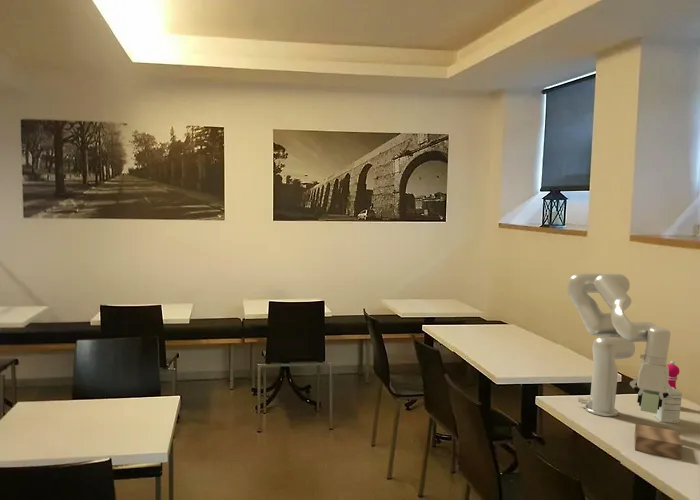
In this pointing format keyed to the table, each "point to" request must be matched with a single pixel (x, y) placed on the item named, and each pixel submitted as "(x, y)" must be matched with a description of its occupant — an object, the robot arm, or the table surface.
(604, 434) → the table surface
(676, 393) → the supplement box
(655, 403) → the sage block
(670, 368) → the pepper mill
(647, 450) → the walnut riser block
